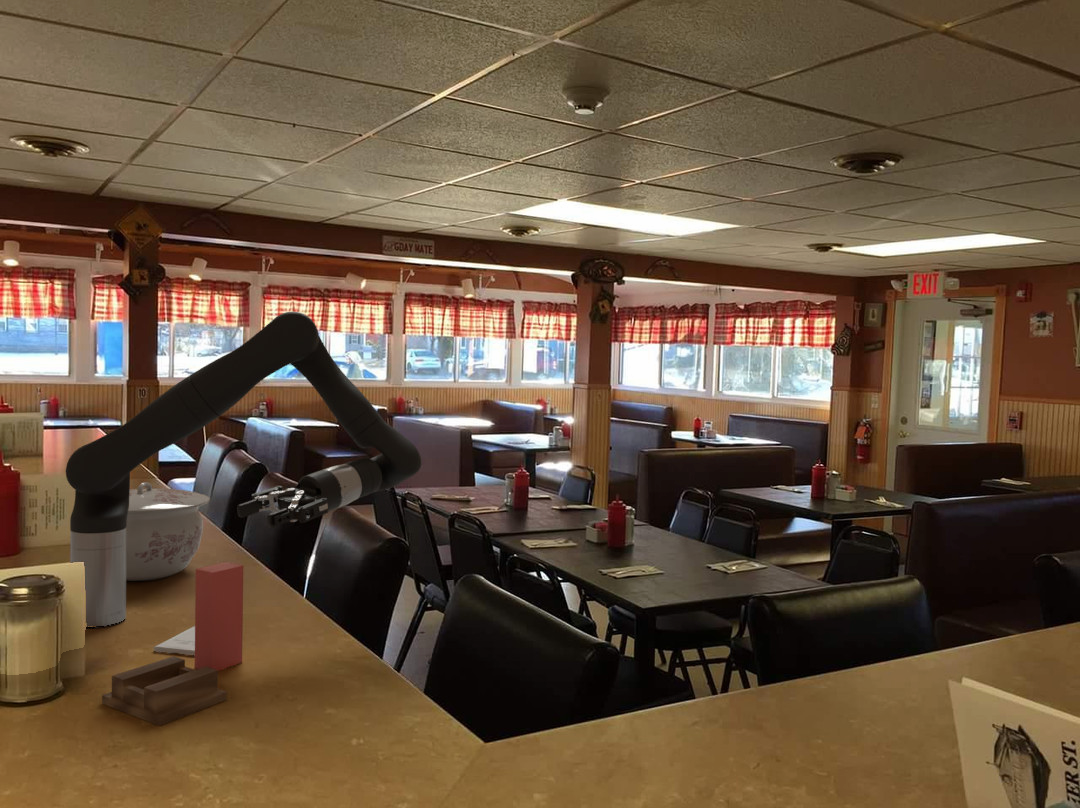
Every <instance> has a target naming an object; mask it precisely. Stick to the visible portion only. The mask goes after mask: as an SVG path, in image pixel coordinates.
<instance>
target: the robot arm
mask: <svg viewBox="0 0 1080 808" xmlns="http://www.w3.org/2000/svg"><path fill="white" fill-rule="evenodd" d="M319 333H320V332H319V330H318V327H317V326H316V324H315V322H314V321H313V320H312V318H311V317H309V316H308V315H307V314H304V313H302V312H298V311H286V312H283V313H280V314H279V315H277V316H276V317H274V318H273V319H272V320H271V321H270V322H269V323H267V324H266V325H264V327H262V329H261V330H259V331H258V332H257V333H256V334H254V335H253V336H251V338H249V339H248V340H247V341H245V343H243V344H241V345H240V346H238V347H237V348H235V349H234V350H232V351H231V352H229V353H226V354H225V355H222V356H221V357H219V358H217V359H215V360H214V361H211V362H210V363H208V364H206V365H205V366H203V367H201V368H200V369H197V370H196V371H194V372H193V373H191V374H189V375H188V376H187V377H185V378H183V379H182V380H180V381H179V382H177V383H176V384H175V385H173V386H172V387H171V388H169V389H167V390H166V391H165V392H164V393H162V394H161V395H159V396H158V397H157V398H156V399H154V400H153V401H152V402H151V403H149V404H147V406H145V408H143V409H142V410H141V411H140V412H138V413H137V414H136V415H134V417H132V418H130V420H128V421H126V423H124V424H122V425H121V426H119V427H118V428H116V429H114V430H112V431H111V432H108V433H107V434H105V435H103V436H101V437H99V438H98V439H95V440H93V441H91V442H89V443H87V444H84V445H82V446H80V447H78V448H77V449H75V450H74V452H73V453H72V454H71V455H70V457H69V458H68V461H67V463H66V467H65V477H66V480H67V483H68V484H69V486H71V487H72V489H74V490H75V491H74V495H75V496H74V504H73V507H72V508H73V509H72V512H71V515H70V520H69V521H70V523H69V524H70V525H69V526H70V527H69V528H70V532H69V533H70V537H69V539H70V542H69V543H70V550H69V551H70V556H69V557H70V558H69V560H70V563H73V562H84V566H85V590H86V623H87V627H88V626H89V627H90V626H104V627H108V626H107V625H109V626H112V625H111V624H114V625H116V624H115V623H117V624H120V623H122V622H123V620H124V619H125V620H126V617H127V581H126V532H127V527H126V526H127V514H128V509H129V493H130V489H131V488H130V487H131V472H132V471H133V470H135V469H136V468H137V467H138V466H140V465H141V464H143V463H144V462H145V461H147V460H148V459H149V458H150V457H152V456H154V455H155V454H156V453H159V452H160V451H162V450H164V449H166V448H168V447H170V446H173V445H174V444H176V443H178V442H180V441H181V440H182V441H183V439H185V438H187V437H189V436H191V435H193V434H194V433H196V432H197V431H200V430H201V429H203V428H204V427H206V426H208V425H209V424H210V423H212V422H213V421H215V420H216V419H218V418H219V417H221V416H222V415H223V414H225V413H226V412H228V411H229V410H230V409H231V408H232V407H234V406H235V405H236V404H237V403H238V402H240V401H241V400H242V399H243V398H244V397H245V396H246V395H247V394H249V392H250V391H251V390H253V389H254V387H256V385H258V384H259V383H260V382H262V381H263V380H264V379H265V378H267V377H269V376H270V375H272V374H274V373H276V372H277V371H280V370H281V369H283V368H284V367H287V366H288V365H291V366H292V367H293V368H295V369H296V370H297V371H298V372H299V373H300V374H301V375H302V376H303V377H304V378H305V379H306V380H307V381H308V382H309V383H310V385H312V387H313V388H314V389H315V390H316V392H317V393H318V394H319V396H320V397H321V399H322V400H323V402H324V403H325V404H326V407H327V408H328V409H329V410H330V412H331V413H332V415H333V416H334V418H335V419H336V420H337V422H338V424H340V426H341V427H342V428H343V429H344V430H345V432H346V433H347V434H348V436H350V439H352V440H353V442H354V443H355V444H356V445H357V446H358V447H359V448H360V449H368V448H373V449H375V450H377V451H378V452H379V454H377V455H376V456H374V457H371V458H369V457H363V458H357V459H354V460H352V461H348V462H346V463H343V464H338V465H333V466H329V467H326V468H324V469H321V470H318V471H315V472H312V473H309V474H306V475H303V476H302V477H301V478H300V479H299V481H298V482H297V485H296V487H290V488H285V490H284V488H283V486H282V485H276V486H275V487H271V488H267V489H265V490H262V491H259V492H254V493H252V494H251V499H252V500H249V501H246V502H243V503H240V504H238V505H237V506H236V511H237V516H238V518H241V519H243V518H246V517H248V516H252V515H254V514H257V513H261V512H265V511H270V512H271V513H269V514H268V515H267V516H266V520H267V526H268V527H269V528H276V527H279V526H281V525H283V524H286V523H288V522H290V523H295V522H297V521H298V522H299V523H300V524H305V523H307V522H309V521H311V520H314V519H316V518H318V517H322V516H324V515H326V514H328V513H329V512H332V511H334V510H336V509H339V508H341V507H344V506H348V505H349V504H350V503H352V502H354V501H356V500H358V499H361V498H363V497H366V496H369V495H371V494H373V493H377V492H381V491H386V490H388V489H391V488H394V487H396V486H398V485H400V484H401V483H403V482H405V481H406V480H408V479H410V478H412V477H413V476H415V475H416V474H417V473H418V472H419V471H420V470H421V466H422V458H421V457H422V456H421V454H420V451H419V450H418V448H417V446H415V444H414V443H413V442H412V441H411V440H409V439H408V438H407V437H406V436H405V435H403V434H402V433H400V431H398V430H397V429H396V428H394V427H393V426H391V425H389V424H388V423H387V422H386V421H385V420H384V419H383V417H382V416H381V415H380V413H379V412H378V411H377V410H376V408H375V407H374V406H373V404H372V403H371V402H370V401H369V400H368V398H366V396H365V395H364V393H362V391H361V390H360V389H359V388H358V387H357V386H356V385H355V384H354V383H353V382H352V381H351V379H349V378H348V376H347V375H346V374H345V373H344V372H343V371H342V370H341V368H340V367H339V366H338V365H337V363H336V362H335V360H334V359H333V357H332V356H331V354H330V352H329V351H328V349H327V348H326V346H325V344H324V343H323V341H322V339H321V337H320V335H319ZM275 503H277V506H276V505H275ZM70 563H69V564H70ZM125 620H124V621H125ZM121 621H122V622H121ZM119 622H120V623H119Z"/></svg>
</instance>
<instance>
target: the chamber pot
mask: <svg viewBox="0 0 1080 808" xmlns="http://www.w3.org/2000/svg"><path fill="white" fill-rule="evenodd" d="M210 500H211V498H210V497H209V496H208V495H206V494H203V493H199V492H195V491H191V490H184V489H175V488H174V489H173V488H153V485H152V483H151V482H147V481H144V482H141V483H140V484H139V485H138V486H137V488H130V493H129V509H128V514H127V526H126V527H127V532H126V582H127V581H129V582H143V581H146V582H147V581H155V580H159V579H160V580H161V579H164V578H167V577H168V578H169V577H171V576H173V575H175V574H176V575H177V573H180V572H182V571H183V570H185V569H186V568H187V567H188V566H189V564H190V562H191V561H192V559H193V558H194V556H195V555H196V553H197V551H198V550H199V548H200V546H201V540H202V537H203V531H204V518H203V516H202V515H201V513H200V512H199V507H201V506H204V505H206V504H208V503H209V502H210Z"/></svg>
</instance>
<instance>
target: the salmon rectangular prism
mask: <svg viewBox="0 0 1080 808" xmlns="http://www.w3.org/2000/svg"><path fill="white" fill-rule="evenodd" d="M194 590H195V593H194V595H195V596H194V597H195V599H194V601H195V602H194V603H195V605H194V607H195V608H194V611H195V612H194V615H195V617H194V626H195V656H194V669H195V670H197V669H200V668H203V667H209V668H212V669H215V670H218V672H219V671H222V670H224V669H228V668H231V667H234V666H236V665H239V664H242V663H243V638H244V637H243V631H244V630H243V629H244V628H243V627H244V626H243V624H244V623H243V621H244V618H243V617H244V616H243V615H244V613H243V612H244V565H242V564H238V563H234V562H229V561H226V562H221V563H220V562H219V563H216V564H212V565H208V566H203V567H198V568H195V589H194ZM241 662H242V663H241ZM238 663H239V664H238ZM233 665H234V666H233ZM230 666H231V667H230ZM227 667H228V668H227Z"/></svg>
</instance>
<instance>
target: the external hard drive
mask: <svg viewBox="0 0 1080 808" xmlns="http://www.w3.org/2000/svg"><path fill="white" fill-rule="evenodd" d="M154 651H156V652H155V653H161V652H168V653H167V654H170V653H172V654H174V653H179V654H186V655H185V656H188V655H194V656H193V657H195V625H194V626H192V627H190V628H188V629H186V630H185V631H182V632H180V633H179V634H177V635H175V636H173V637H170V638H169V639H167V640H165V641H163V642H161V643H159V644H156V646H153V652H154ZM179 654H178V655H179Z"/></svg>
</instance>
